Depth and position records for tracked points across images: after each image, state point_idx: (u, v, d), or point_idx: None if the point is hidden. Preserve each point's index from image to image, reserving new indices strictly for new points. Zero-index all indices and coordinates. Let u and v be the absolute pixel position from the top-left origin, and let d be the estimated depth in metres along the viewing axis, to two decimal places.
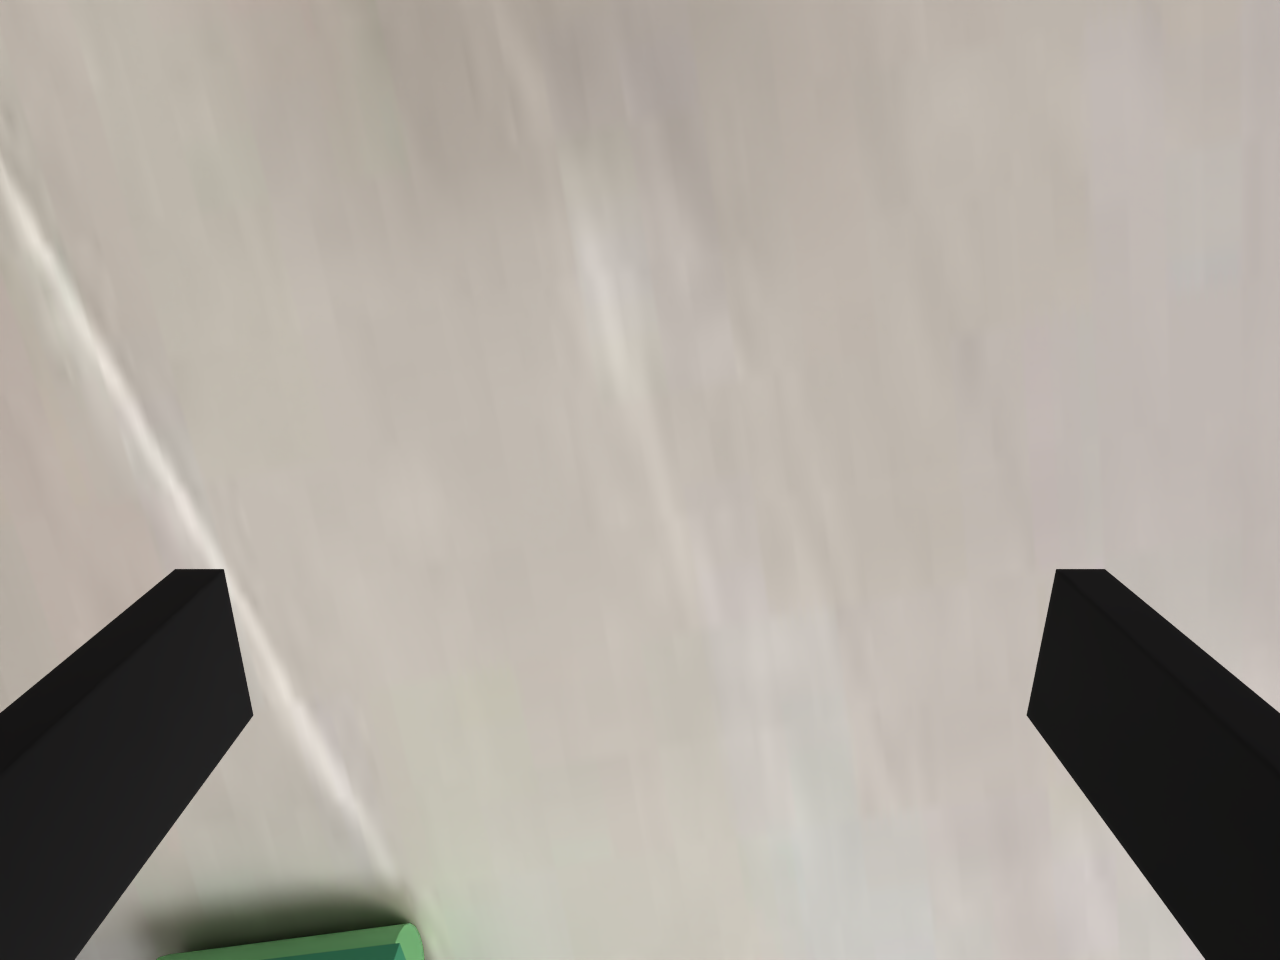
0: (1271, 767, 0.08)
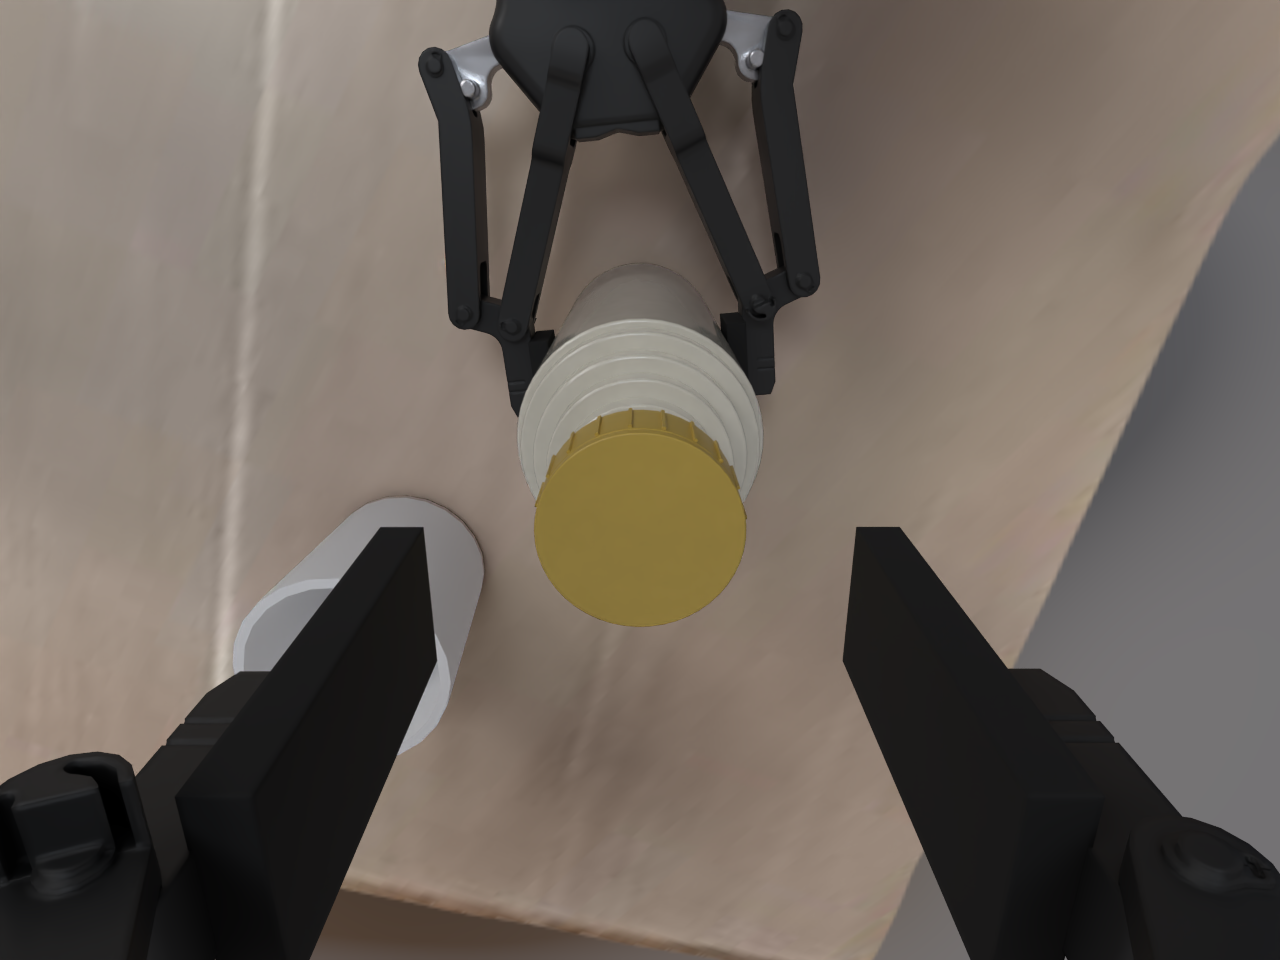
0: (952, 676, 0.10)
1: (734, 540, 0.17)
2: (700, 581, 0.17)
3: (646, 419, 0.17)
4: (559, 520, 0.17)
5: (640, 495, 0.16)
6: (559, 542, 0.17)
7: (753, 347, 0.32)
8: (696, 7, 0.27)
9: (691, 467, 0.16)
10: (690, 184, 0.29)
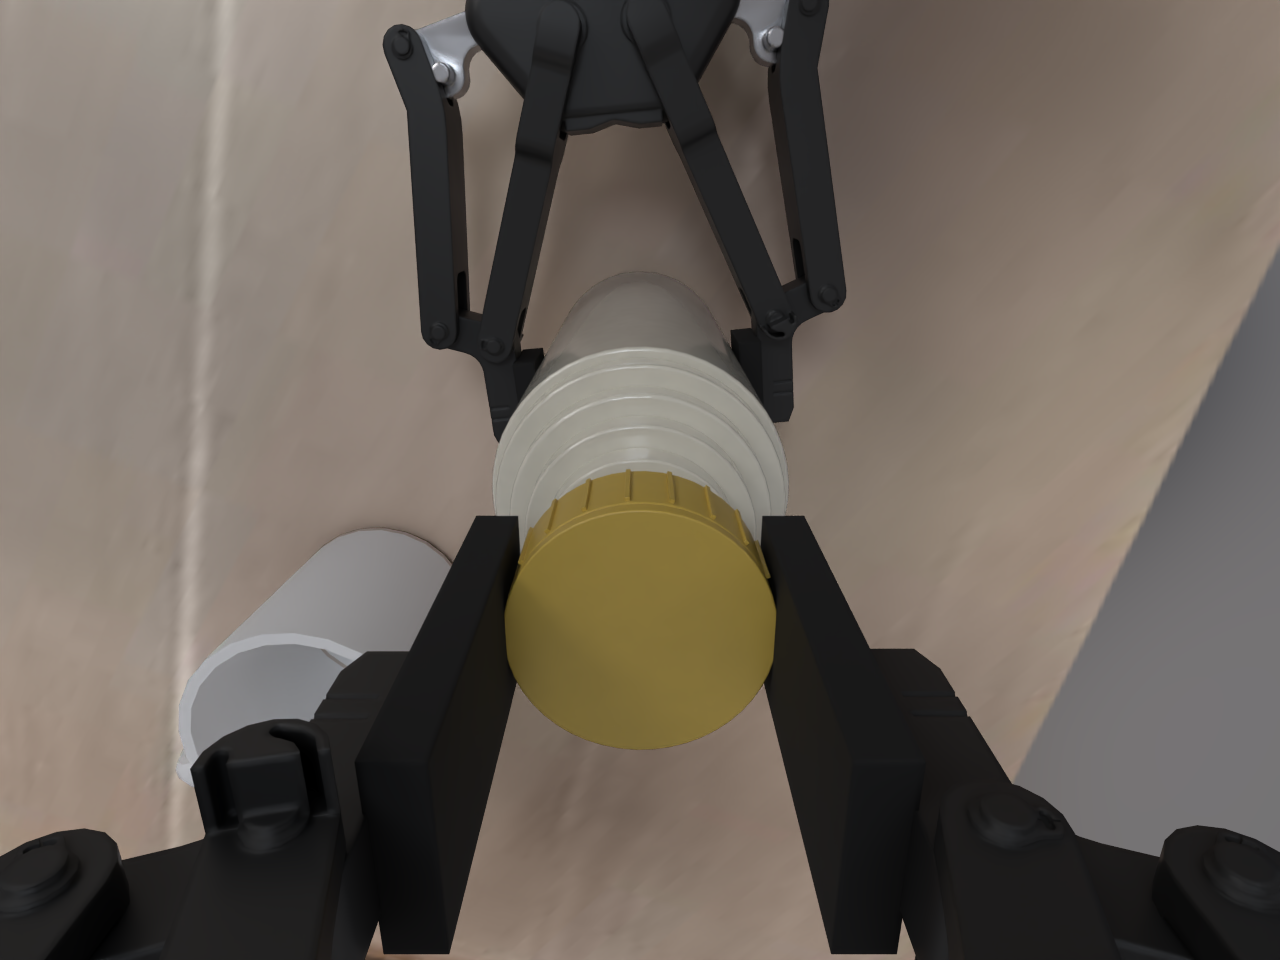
0: (815, 653, 0.10)
1: (762, 644, 0.13)
2: (718, 694, 0.13)
3: (648, 487, 0.13)
4: (535, 620, 0.13)
5: (641, 589, 0.13)
6: (536, 647, 0.13)
7: (769, 369, 0.28)
8: None
9: (707, 553, 0.12)
10: (698, 183, 0.25)
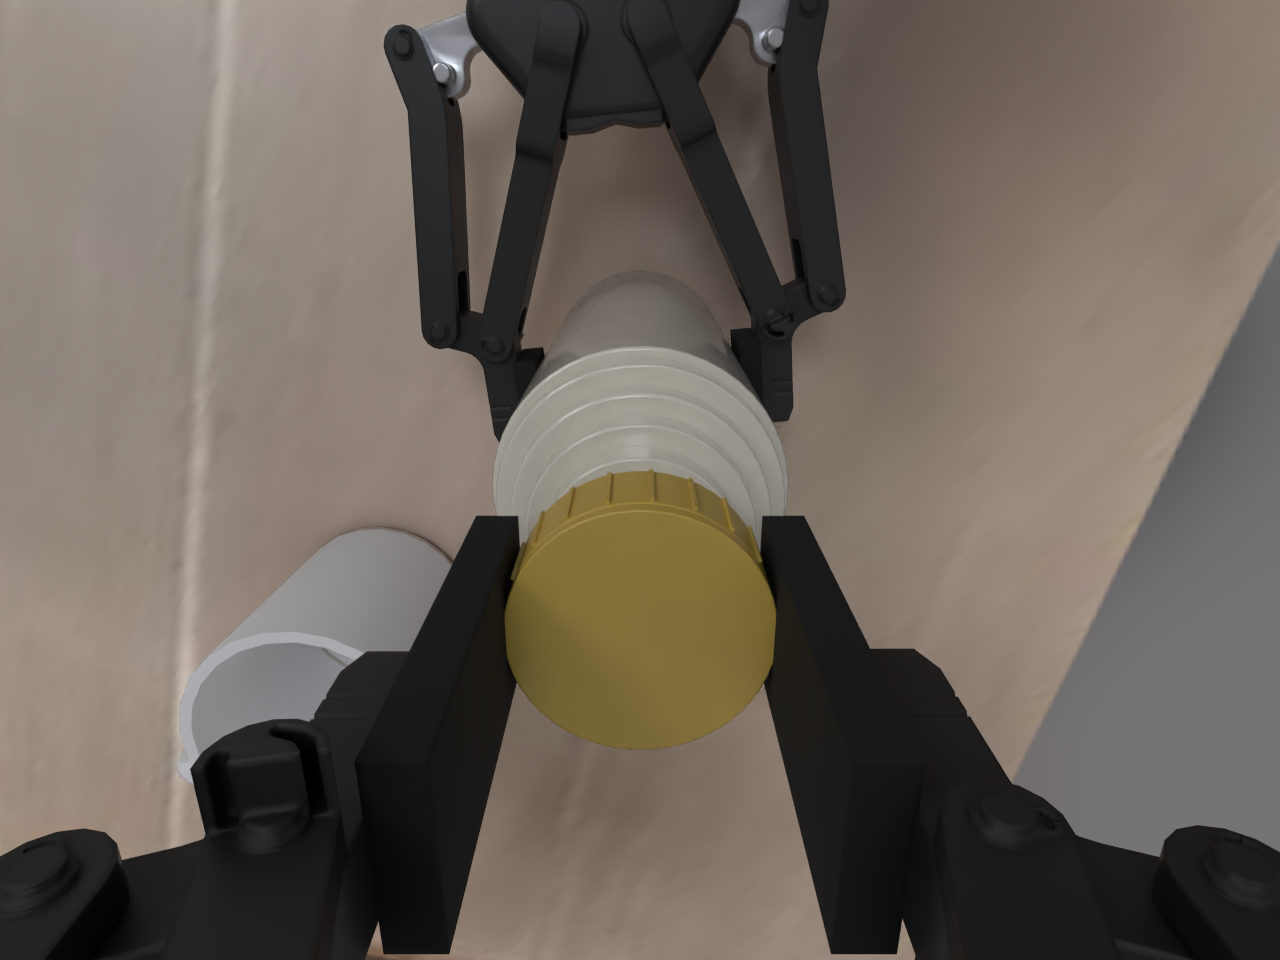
0: (815, 653, 0.10)
1: (671, 527, 0.12)
2: (723, 577, 0.13)
3: None
4: (604, 719, 0.13)
5: (586, 629, 0.13)
6: (633, 725, 0.14)
7: (769, 368, 0.28)
8: None
9: (557, 566, 0.12)
10: (698, 183, 0.26)
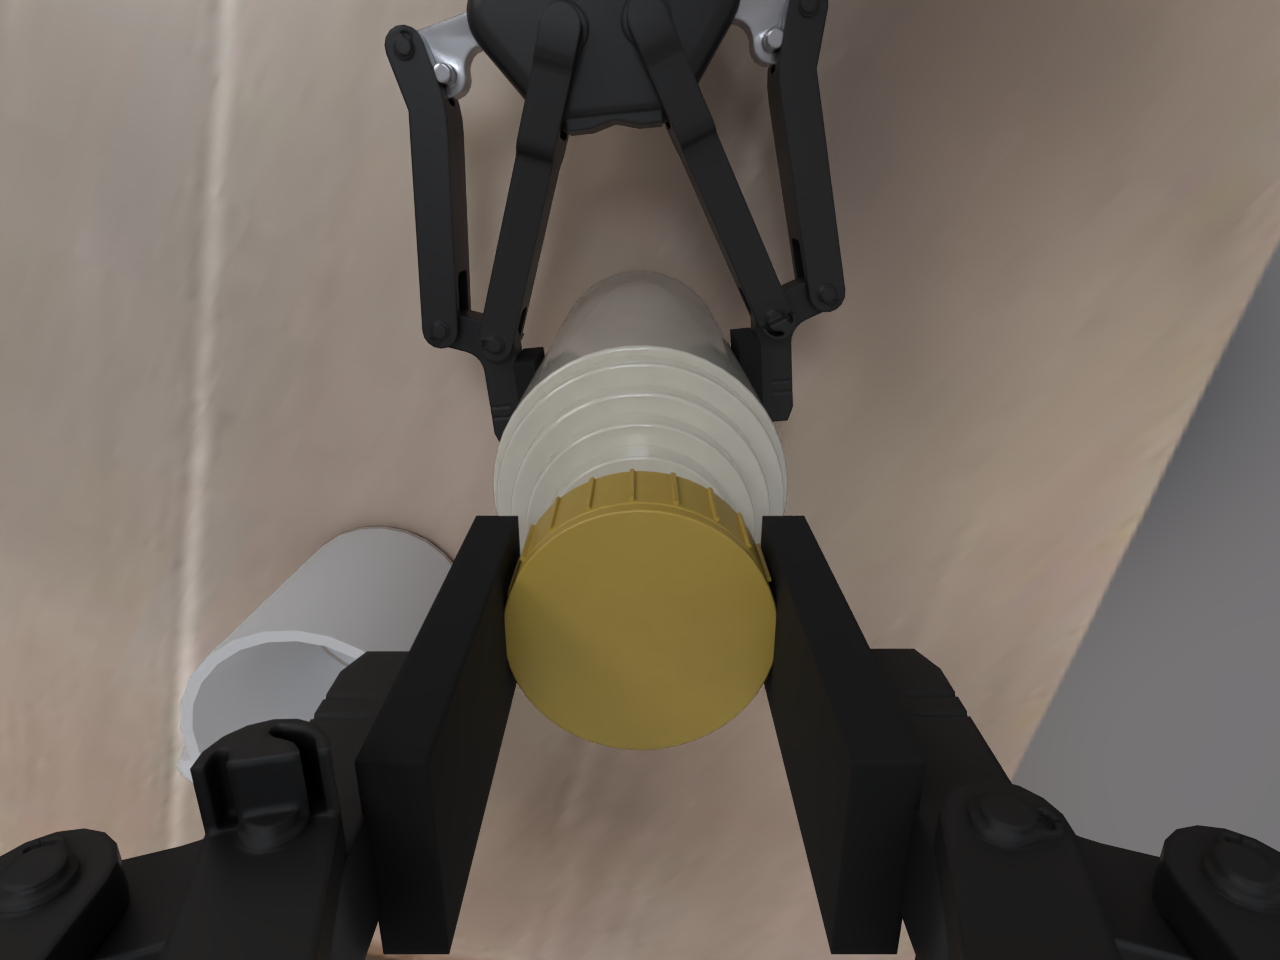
0: (815, 653, 0.10)
1: (525, 593, 0.13)
2: (585, 555, 0.12)
3: None
4: (729, 683, 0.13)
5: (622, 681, 0.13)
6: (742, 659, 0.13)
7: (768, 368, 0.28)
8: None
9: (551, 692, 0.13)
10: (698, 183, 0.26)
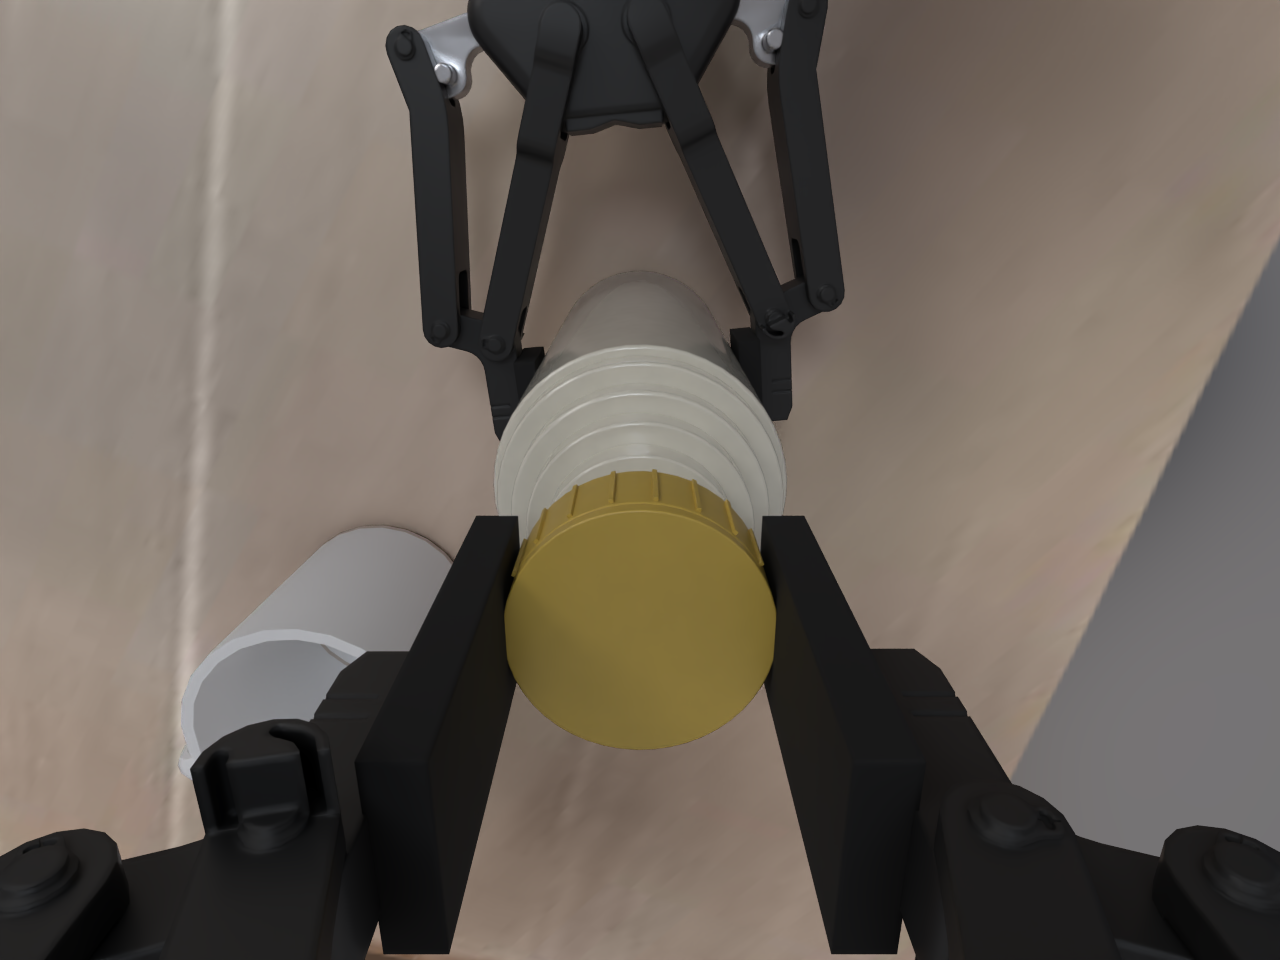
0: (815, 653, 0.10)
1: (575, 722, 0.14)
2: (543, 668, 0.13)
3: None
4: (711, 565, 0.12)
5: (687, 661, 0.13)
6: (684, 549, 0.12)
7: (768, 368, 0.28)
8: None
9: (686, 722, 0.14)
10: (697, 183, 0.26)
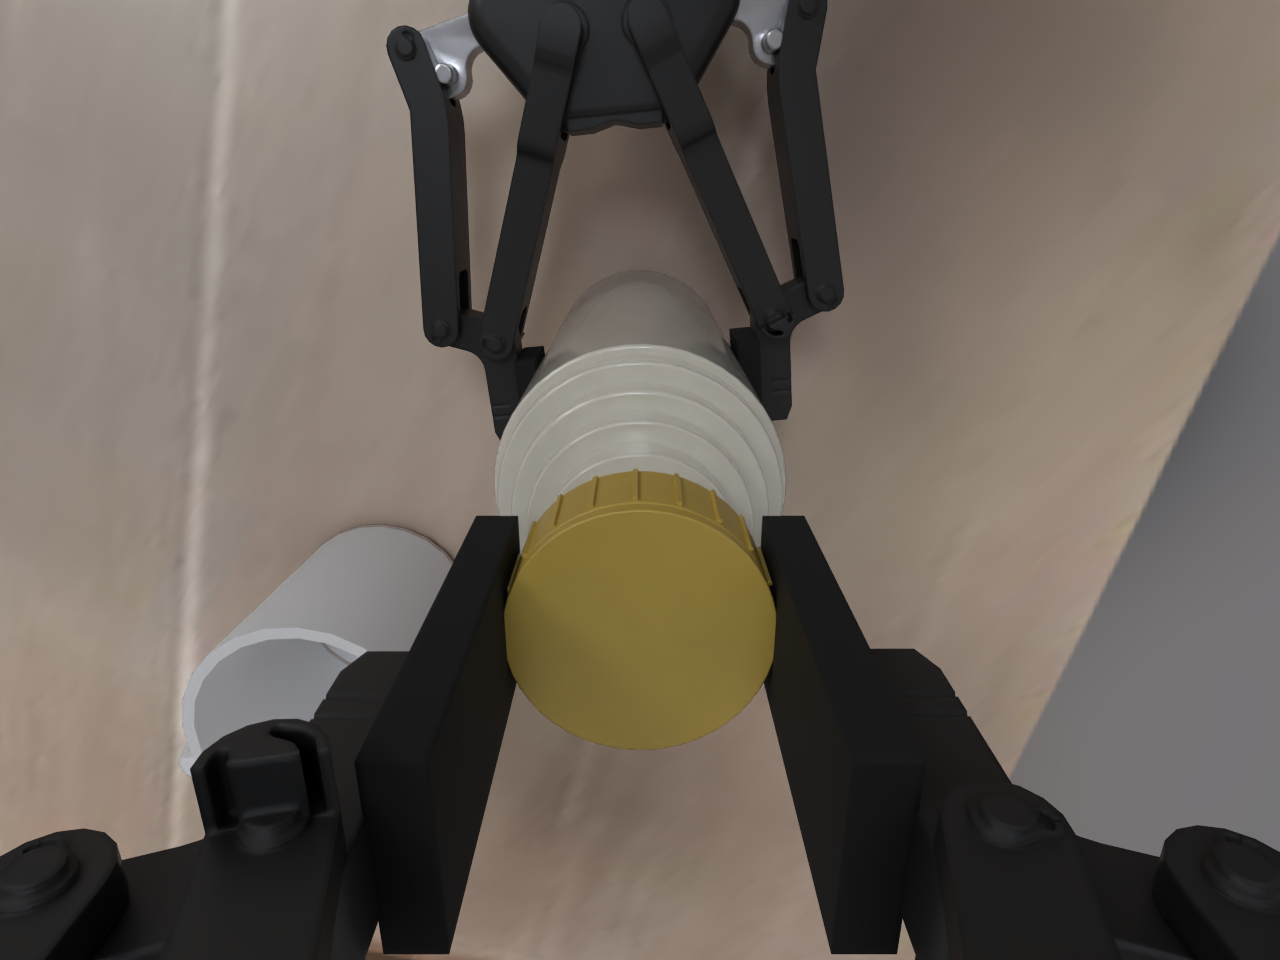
0: (815, 653, 0.10)
1: (726, 708, 0.13)
2: (658, 723, 0.14)
3: (731, 520, 0.13)
4: (570, 564, 0.12)
5: (676, 600, 0.13)
6: (549, 585, 0.13)
7: (767, 367, 0.28)
8: None
9: (750, 610, 0.13)
10: (697, 184, 0.26)
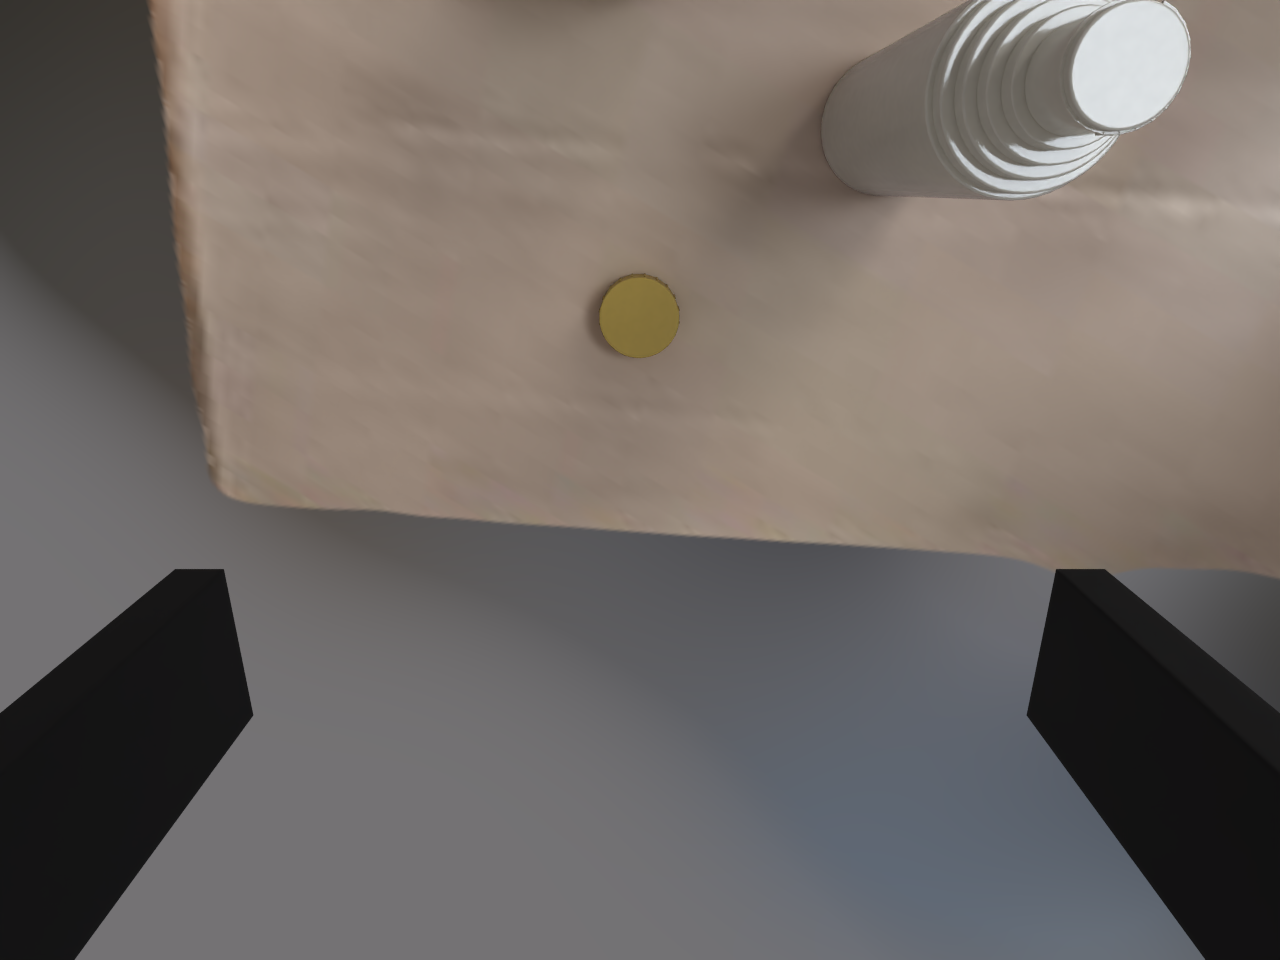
0: (1272, 767, 0.08)
1: (668, 296, 0.44)
2: (669, 318, 0.45)
3: (615, 283, 0.45)
4: (612, 333, 0.45)
5: (628, 306, 0.44)
6: (618, 340, 0.45)
7: None
8: None
9: (635, 285, 0.44)
10: None
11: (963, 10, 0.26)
